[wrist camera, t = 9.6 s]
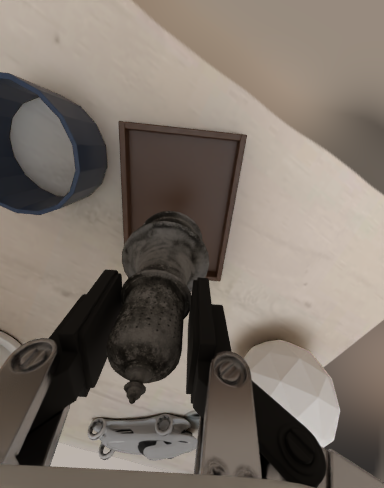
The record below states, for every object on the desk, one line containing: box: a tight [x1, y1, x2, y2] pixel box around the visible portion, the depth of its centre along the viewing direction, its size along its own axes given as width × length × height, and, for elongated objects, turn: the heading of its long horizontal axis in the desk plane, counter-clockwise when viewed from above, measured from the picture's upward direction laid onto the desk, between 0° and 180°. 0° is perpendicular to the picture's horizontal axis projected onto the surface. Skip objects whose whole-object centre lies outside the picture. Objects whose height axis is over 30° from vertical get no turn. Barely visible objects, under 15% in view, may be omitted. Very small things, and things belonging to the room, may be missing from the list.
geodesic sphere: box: [244, 340, 340, 447], centre depth 31 cm, size 15×14×14 cm
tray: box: [119, 121, 247, 281], centre depth 26 cm, size 13×18×2 cm
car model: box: [88, 414, 197, 460], centre depth 46 cm, size 11×24×5 cm, turn 95°
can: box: [0, 72, 107, 215], centre depth 21 cm, size 11×11×6 cm
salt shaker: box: [106, 211, 209, 404], centre depth 12 cm, size 6×6×12 cm
